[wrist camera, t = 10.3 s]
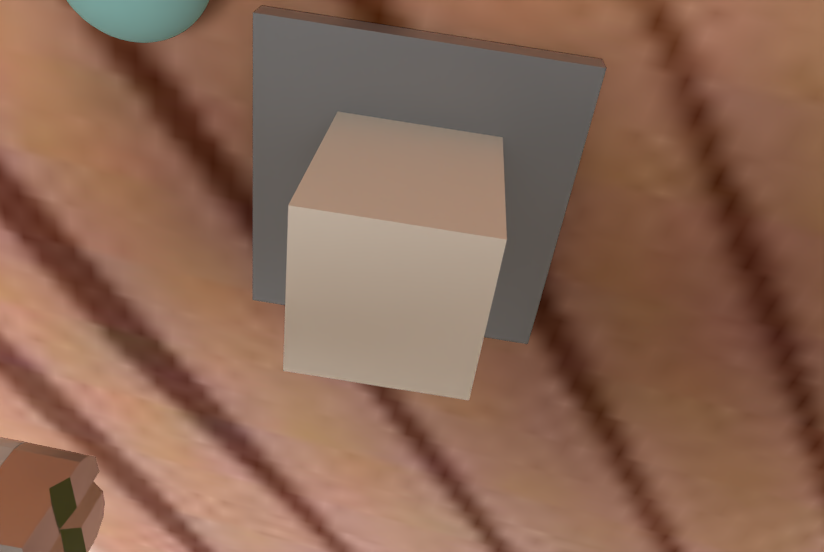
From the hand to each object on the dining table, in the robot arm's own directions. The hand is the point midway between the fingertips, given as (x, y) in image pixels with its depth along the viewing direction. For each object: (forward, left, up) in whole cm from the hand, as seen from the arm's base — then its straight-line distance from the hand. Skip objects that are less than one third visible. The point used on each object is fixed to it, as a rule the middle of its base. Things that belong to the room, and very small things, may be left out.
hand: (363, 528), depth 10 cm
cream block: (0, 0, -11) cm, 11 cm away
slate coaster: (0, 0, -12) cm, 12 cm away
